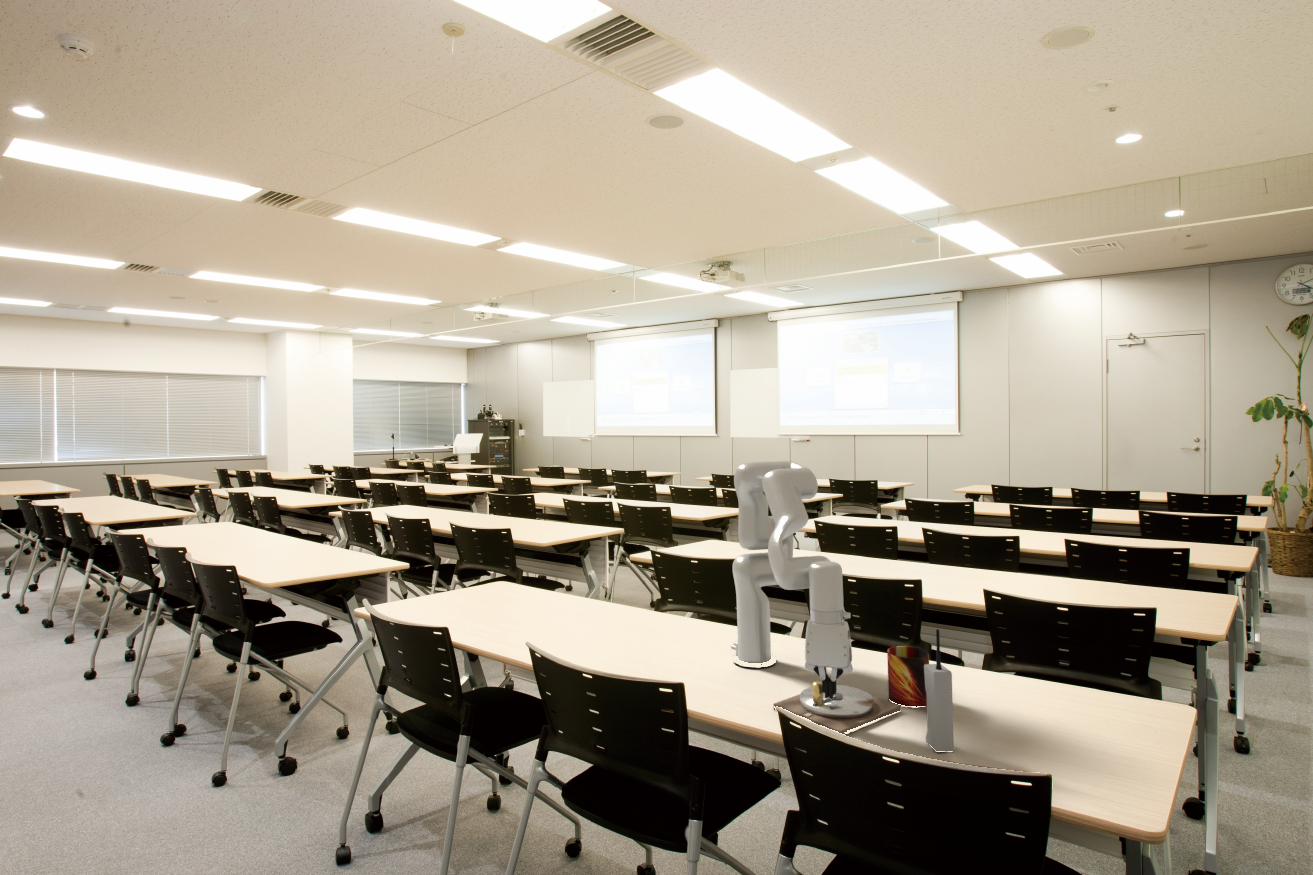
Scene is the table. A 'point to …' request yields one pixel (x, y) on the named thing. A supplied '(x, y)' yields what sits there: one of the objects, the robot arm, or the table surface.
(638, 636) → the table surface
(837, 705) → the dial
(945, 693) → the vintage mobile phone
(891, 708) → the base board
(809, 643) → the robot arm
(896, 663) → the mug
